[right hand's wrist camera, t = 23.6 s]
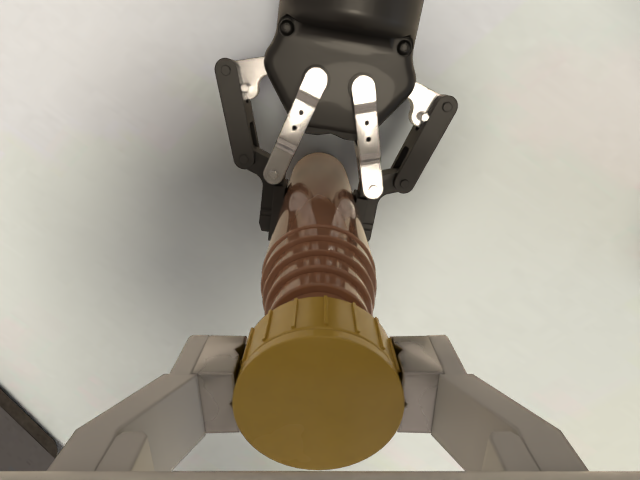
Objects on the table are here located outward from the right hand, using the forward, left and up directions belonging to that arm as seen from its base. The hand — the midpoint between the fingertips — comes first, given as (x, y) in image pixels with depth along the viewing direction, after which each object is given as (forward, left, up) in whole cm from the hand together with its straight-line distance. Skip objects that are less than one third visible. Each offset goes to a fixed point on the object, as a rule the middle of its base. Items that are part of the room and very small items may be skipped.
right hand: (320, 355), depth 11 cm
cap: (0, 0, +2) cm, 2 cm away
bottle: (0, 0, -22) cm, 22 cm away
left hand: (-2, -2, -15) cm, 15 cm away
